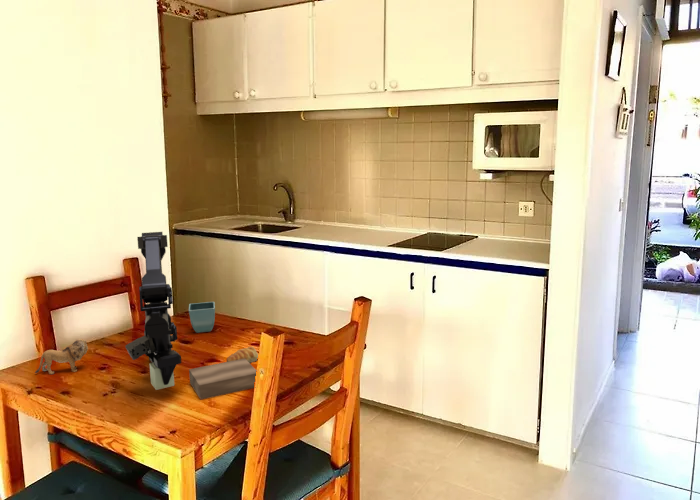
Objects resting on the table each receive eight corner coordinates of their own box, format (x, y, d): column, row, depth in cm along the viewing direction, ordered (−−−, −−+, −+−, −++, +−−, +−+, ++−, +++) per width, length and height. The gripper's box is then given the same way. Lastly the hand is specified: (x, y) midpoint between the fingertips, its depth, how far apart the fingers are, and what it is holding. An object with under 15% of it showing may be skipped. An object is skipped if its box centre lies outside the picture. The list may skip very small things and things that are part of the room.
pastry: (233, 369, 172) (232, 356, 172) (222, 363, 177) (221, 351, 177) (260, 360, 179) (260, 348, 178) (248, 355, 184) (248, 343, 183)
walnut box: (190, 384, 163) (189, 369, 162) (245, 372, 170) (244, 358, 169) (200, 401, 153) (199, 385, 152) (259, 387, 160) (258, 372, 159)
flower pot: (190, 327, 210) (189, 303, 208) (216, 325, 212) (214, 301, 210) (190, 335, 202) (188, 310, 200) (216, 333, 204) (215, 308, 202)
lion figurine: (90, 363, 178) (87, 335, 176) (89, 370, 173) (86, 341, 171) (36, 371, 173) (32, 342, 171) (33, 378, 168) (29, 348, 166)
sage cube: (151, 383, 163) (149, 363, 162) (169, 379, 166) (167, 359, 164) (156, 390, 159) (154, 369, 158) (174, 385, 161) (172, 365, 160)
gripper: (118, 323, 162) (124, 376, 165) (135, 342, 147) (141, 400, 150) (159, 315, 168) (163, 367, 171) (179, 333, 153) (184, 389, 156)
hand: (162, 380), depth 162 cm, fingers open, 7 cm apart
